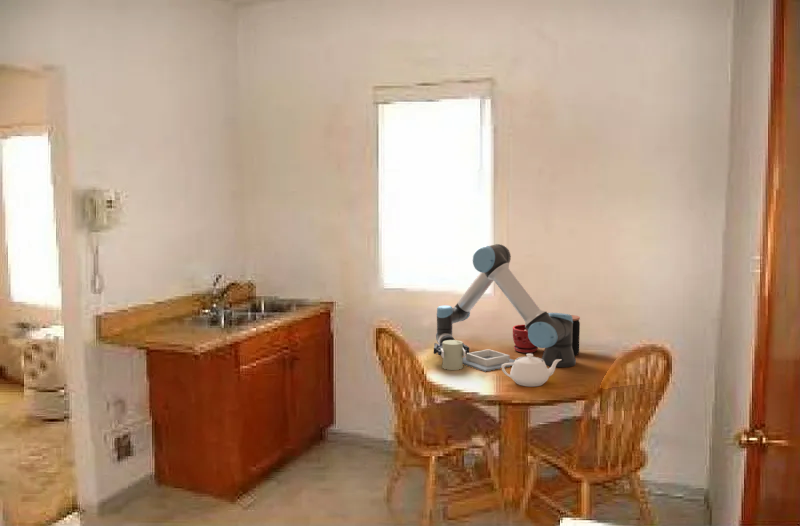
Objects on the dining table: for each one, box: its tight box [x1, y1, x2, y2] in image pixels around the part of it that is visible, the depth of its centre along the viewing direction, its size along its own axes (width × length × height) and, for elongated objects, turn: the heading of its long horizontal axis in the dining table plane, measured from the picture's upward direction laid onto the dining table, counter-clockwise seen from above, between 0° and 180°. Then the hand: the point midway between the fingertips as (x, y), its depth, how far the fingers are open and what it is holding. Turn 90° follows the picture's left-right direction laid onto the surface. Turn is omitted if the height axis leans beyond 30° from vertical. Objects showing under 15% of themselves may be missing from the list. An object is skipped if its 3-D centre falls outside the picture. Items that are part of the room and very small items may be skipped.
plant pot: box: [512, 324, 539, 354], centre depth 322 cm, size 13×13×12 cm
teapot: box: [501, 353, 562, 387], centre depth 269 cm, size 25×16×12 cm, turn 93°
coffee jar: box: [570, 314, 581, 356], centre depth 316 cm, size 11×11×18 cm
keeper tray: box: [463, 348, 516, 373], centre depth 301 cm, size 22×22×4 cm
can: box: [441, 339, 464, 371], centre depth 293 cm, size 9×9×12 cm
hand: (454, 354), depth 289 cm, fingers closed on can, 9 cm apart
